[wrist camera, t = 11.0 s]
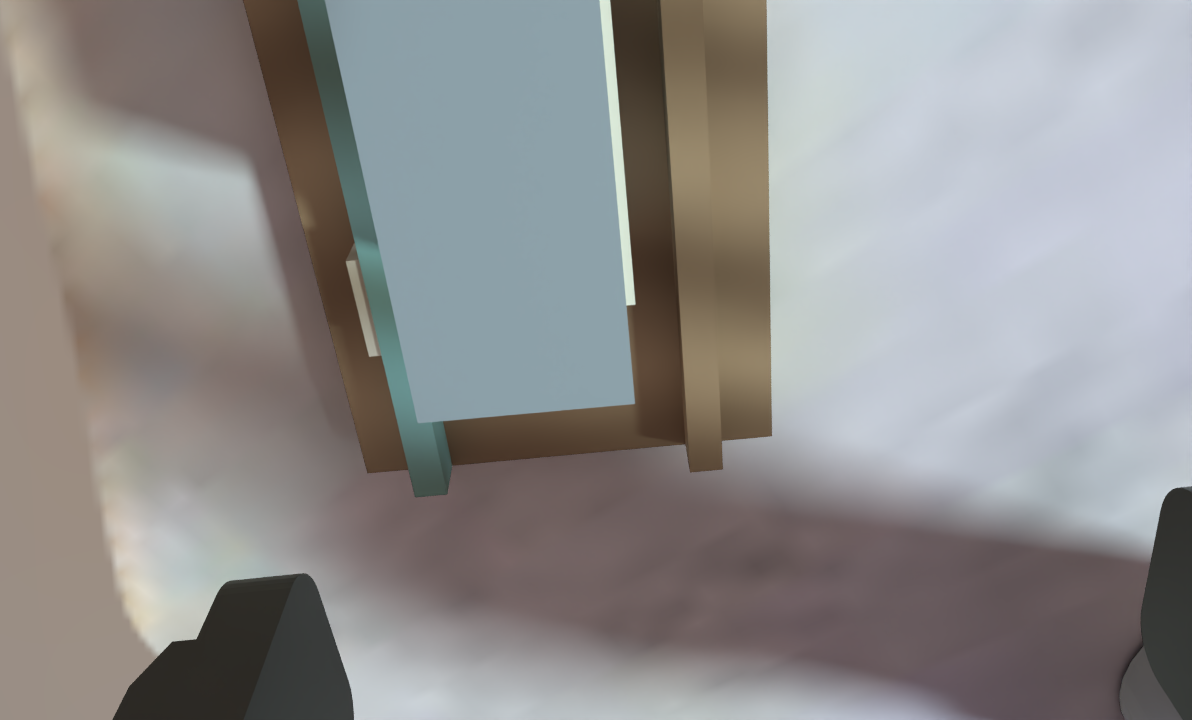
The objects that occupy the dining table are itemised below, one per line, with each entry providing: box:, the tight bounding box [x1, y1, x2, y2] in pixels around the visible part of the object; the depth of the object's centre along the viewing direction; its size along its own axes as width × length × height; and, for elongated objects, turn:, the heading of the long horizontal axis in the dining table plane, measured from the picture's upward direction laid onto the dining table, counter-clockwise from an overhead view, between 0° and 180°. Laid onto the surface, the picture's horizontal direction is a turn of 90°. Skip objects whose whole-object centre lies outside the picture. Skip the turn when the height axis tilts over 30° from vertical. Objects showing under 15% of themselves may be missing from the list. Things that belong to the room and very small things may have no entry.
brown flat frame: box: [243, 0, 772, 497], centre depth 26 cm, size 25×13×3 cm, turn 6°
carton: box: [325, 0, 635, 423], centre depth 22 cm, size 5×10×9 cm, turn 5°
